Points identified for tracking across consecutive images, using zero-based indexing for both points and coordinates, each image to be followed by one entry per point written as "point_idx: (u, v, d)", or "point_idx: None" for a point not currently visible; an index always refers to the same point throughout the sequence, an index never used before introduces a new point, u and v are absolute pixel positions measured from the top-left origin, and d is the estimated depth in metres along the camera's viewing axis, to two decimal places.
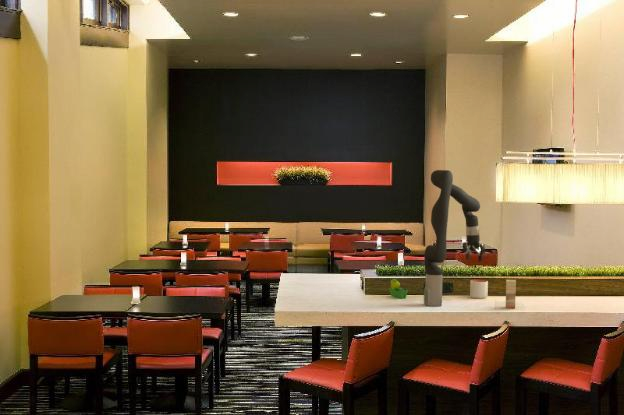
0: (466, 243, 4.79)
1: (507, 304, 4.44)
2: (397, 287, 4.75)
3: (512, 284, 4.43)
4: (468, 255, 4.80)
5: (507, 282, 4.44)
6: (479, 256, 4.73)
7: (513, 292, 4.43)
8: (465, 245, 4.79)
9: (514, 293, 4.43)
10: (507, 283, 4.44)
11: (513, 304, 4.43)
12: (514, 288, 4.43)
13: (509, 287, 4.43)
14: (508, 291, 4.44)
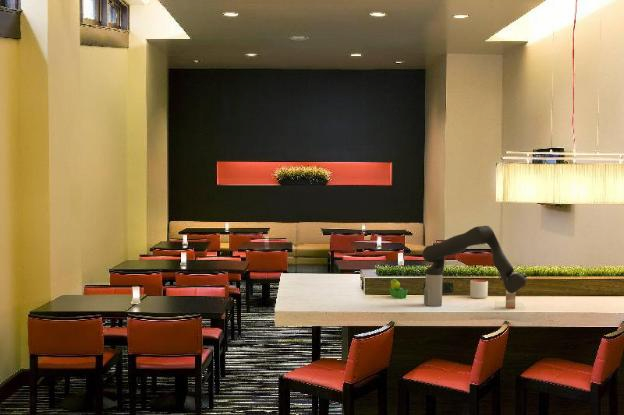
0: None
1: (507, 304, 4.44)
2: (397, 287, 4.75)
3: None
4: None
5: None
6: None
7: None
8: (523, 276, 4.23)
9: (514, 293, 4.43)
10: None
11: (513, 304, 4.43)
12: None
13: None
14: None
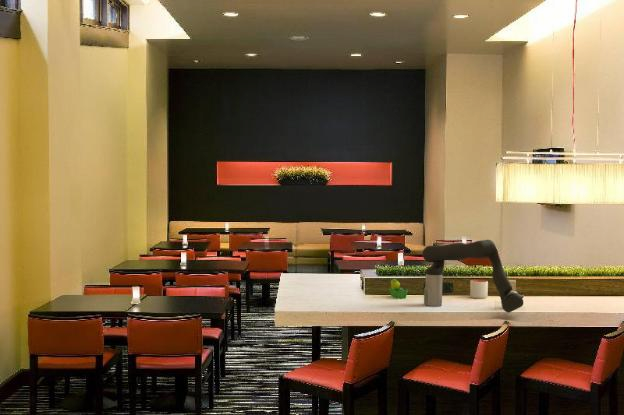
0: (520, 294, 4.24)
1: None
2: (397, 287, 4.75)
3: (512, 284, 4.43)
4: None
5: None
6: None
7: None
8: (519, 293, 4.25)
9: None
10: None
11: None
12: (514, 288, 4.43)
13: None
14: None
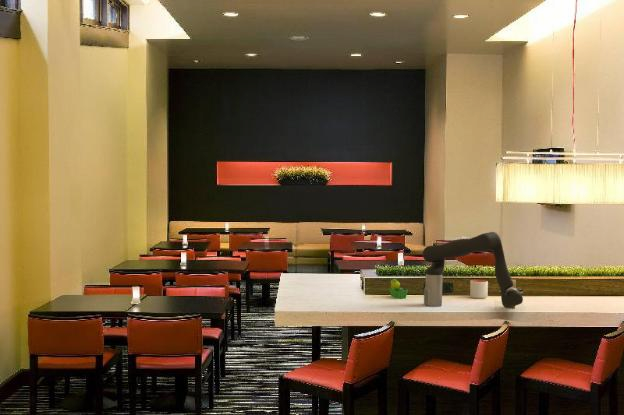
0: (519, 291, 4.33)
1: None
2: (397, 287, 4.75)
3: None
4: None
5: None
6: None
7: None
8: (519, 290, 4.35)
9: None
10: None
11: None
12: None
13: None
14: None
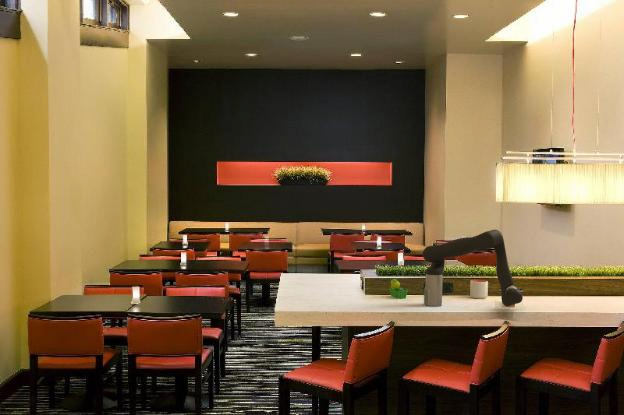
0: (519, 290, 4.38)
1: None
2: (397, 287, 4.75)
3: None
4: None
5: None
6: None
7: None
8: (518, 289, 4.40)
9: None
10: None
11: None
12: None
13: None
14: None
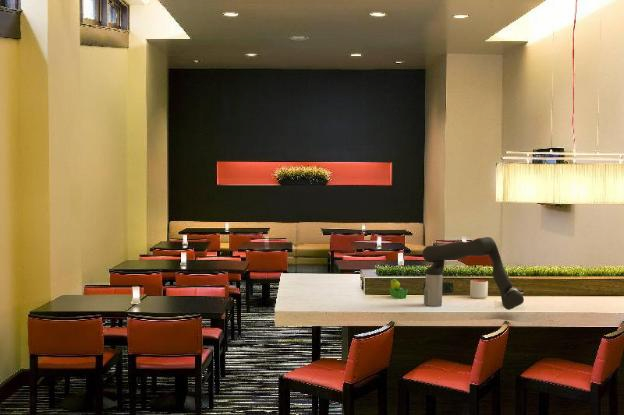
0: (520, 292, 4.25)
1: None
2: (397, 287, 4.75)
3: None
4: None
5: None
6: None
7: None
8: (519, 291, 4.26)
9: None
10: None
11: None
12: None
13: None
14: None
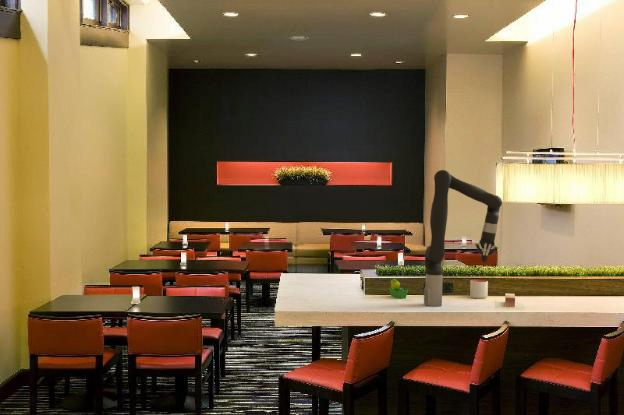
0: None
1: (507, 297, 4.51)
2: (397, 287, 4.75)
3: (511, 294, 4.61)
4: None
5: (506, 293, 4.63)
6: None
7: (512, 295, 4.57)
8: None
9: (513, 295, 4.56)
10: (506, 293, 4.62)
11: (513, 297, 4.51)
12: (513, 294, 4.59)
13: (508, 294, 4.60)
14: (507, 295, 4.58)
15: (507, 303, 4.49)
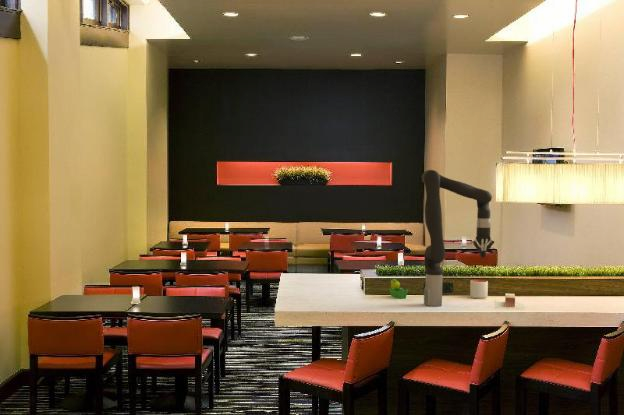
0: None
1: (507, 297, 4.51)
2: (397, 287, 4.75)
3: (511, 294, 4.61)
4: None
5: (506, 293, 4.63)
6: None
7: (512, 295, 4.57)
8: (489, 241, 4.54)
9: (513, 295, 4.56)
10: (506, 293, 4.62)
11: (513, 297, 4.51)
12: (513, 294, 4.59)
13: (508, 294, 4.60)
14: (507, 295, 4.58)
15: (507, 303, 4.49)
